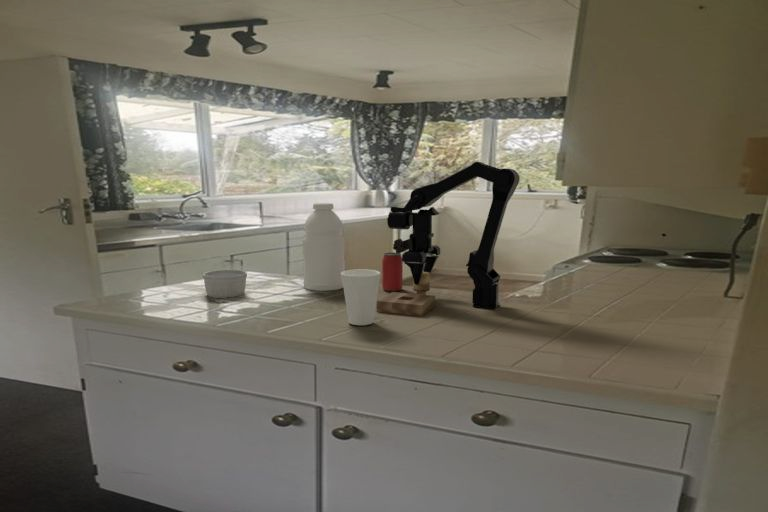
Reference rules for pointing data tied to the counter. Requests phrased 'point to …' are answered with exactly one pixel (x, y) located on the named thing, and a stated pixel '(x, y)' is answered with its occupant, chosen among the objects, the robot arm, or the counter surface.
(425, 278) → the peg
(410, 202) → the robot arm
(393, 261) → the beer can
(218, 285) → the ramekin
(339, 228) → the bottle
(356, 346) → the counter surface
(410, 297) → the board
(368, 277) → the cup
